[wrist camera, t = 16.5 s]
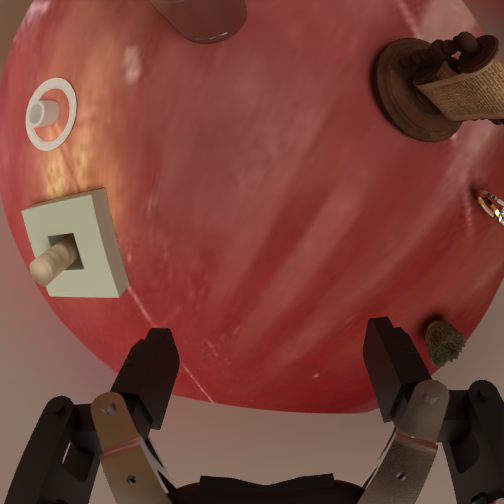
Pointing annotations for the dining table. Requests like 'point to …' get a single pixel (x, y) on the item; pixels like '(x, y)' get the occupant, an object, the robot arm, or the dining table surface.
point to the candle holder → (49, 113)
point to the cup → (443, 342)
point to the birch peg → (54, 260)
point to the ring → (491, 205)
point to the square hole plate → (80, 244)
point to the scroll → (440, 84)
